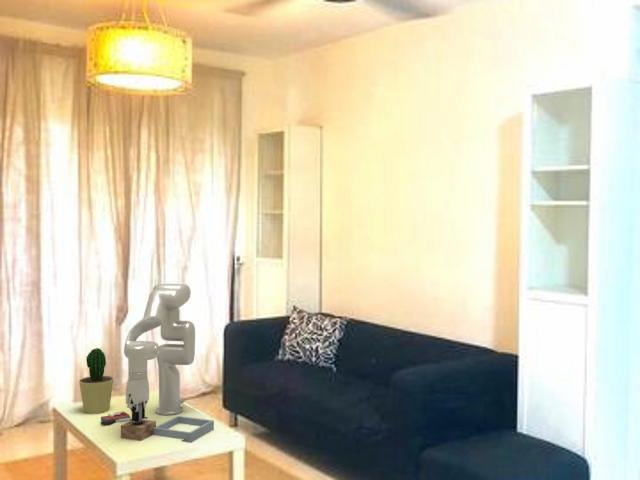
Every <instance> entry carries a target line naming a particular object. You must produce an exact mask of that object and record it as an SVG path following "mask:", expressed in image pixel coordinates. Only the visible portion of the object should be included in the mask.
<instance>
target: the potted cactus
mask: <svg viewBox="0 0 640 480" xmlns="http://www.w3.org/2000/svg"><path fill="white" fill-rule="evenodd" d="M87 352H88V351H87ZM85 358H86V359H85V361H86V362H85V363H86V367H87V368H88V374H89V376H85V377H82V378H80V379H79V380H78V382H79V388H80V393H81V401H82V406H83V407H82V408H83V412H84V413H85V414H87V415H88V414H89V415H97V414H99V415H100V414H103V413H106V412H109V410H110V407H111V400H112V393H113V384H114V377H113V376H110V375H105V368H106V369H107V368H108V366H107V361H106V360H107V357H106V352H104V351H103V350H102V348H100V347H95V348H94V349H93V348H92V349H90V352H88V353H87V356H86V355H85Z"/></svg>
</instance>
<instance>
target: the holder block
mask: <svg viewBox="0 0 640 480" xmlns="http://www.w3.org/2000/svg"><path fill="white" fill-rule="evenodd" d="M156 426H157V421H156V420H148V419H142V425H140V426H139V425H135V421H127V422H126V423H125V422H124V423H123V424H121V425H120V439H125V440H132V441H138V442H141V441H144V440H146V439H148V438H149V437H152V436H154V435H153V428H154V427H156Z"/></svg>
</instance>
